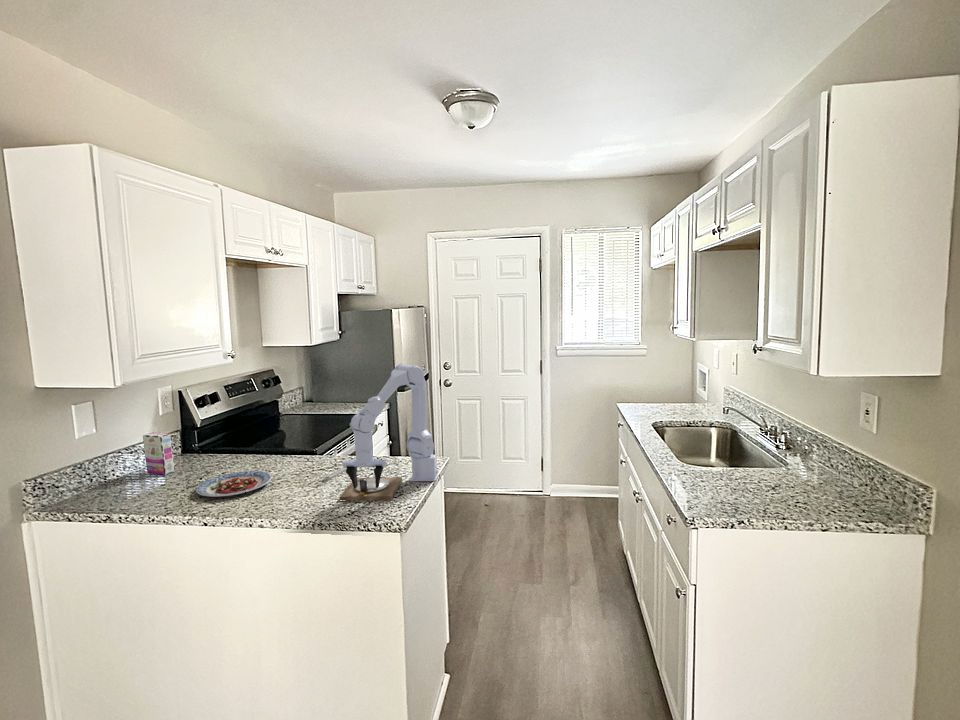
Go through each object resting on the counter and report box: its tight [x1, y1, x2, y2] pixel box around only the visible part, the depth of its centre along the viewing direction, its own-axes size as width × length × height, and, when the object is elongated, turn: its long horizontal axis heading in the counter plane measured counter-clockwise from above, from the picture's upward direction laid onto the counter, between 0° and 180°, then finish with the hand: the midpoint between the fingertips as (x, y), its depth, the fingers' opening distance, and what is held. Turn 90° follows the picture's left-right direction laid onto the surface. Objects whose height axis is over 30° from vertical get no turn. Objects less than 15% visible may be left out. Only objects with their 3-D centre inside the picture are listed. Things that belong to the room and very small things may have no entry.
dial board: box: [339, 476, 403, 501], centre depth 188 cm, size 18×18×2 cm
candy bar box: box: [142, 432, 176, 476], centre depth 217 cm, size 11×5×16 cm, turn 68°
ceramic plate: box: [195, 470, 272, 498], centre depth 197 cm, size 26×26×3 cm
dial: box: [355, 477, 389, 495], centre depth 186 cm, size 14×12×5 cm
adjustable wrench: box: [322, 458, 356, 482], centre depth 211 cm, size 25×6×2 cm, turn 152°
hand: (366, 487), depth 181 cm, fingers open, 7 cm apart
